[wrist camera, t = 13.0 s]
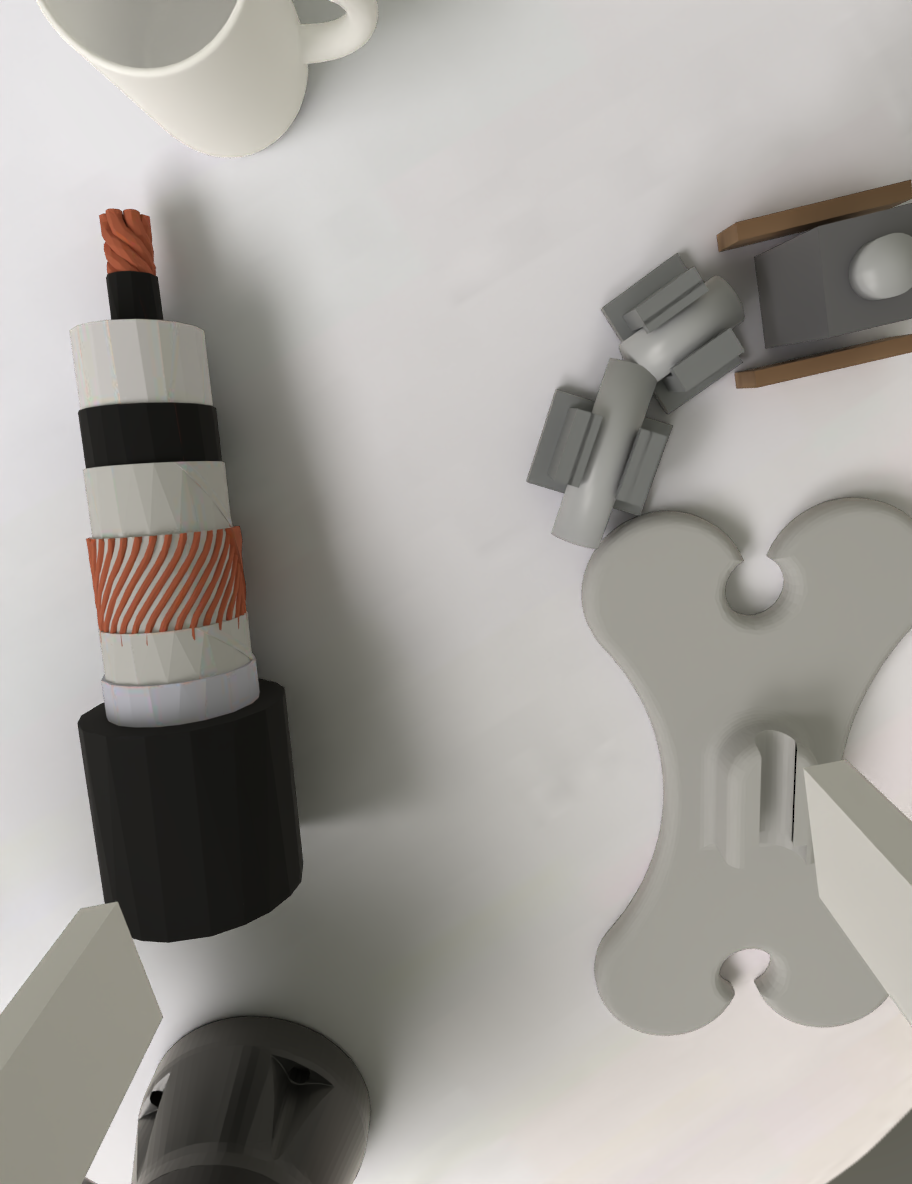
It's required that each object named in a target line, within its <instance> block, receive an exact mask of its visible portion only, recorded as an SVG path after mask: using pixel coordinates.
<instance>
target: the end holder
mask: <svg viewBox="0 0 912 1184" xmlns="http://www.w3.org/2000/svg"><path fill="white" fill-rule="evenodd" d="M910 199H912V184H911V180H908V181H904V182H900V183H896V184H891V185H887V186H883V187H879V188H875V189H871V190H867V191H863V192H859V193H855V194H851V195H846V196H842V197H838V198H834V199H830V200H826V201H822V202H818V203H814V204H810V205H806V206H801V207H797V208H793V209H789V210H785V211H781V212H777V213H773V214H769V215H765V216H761V217H756V218H752V219H748V220H744V221H740V222H736V223H735V224H733V225H732V226H730V227H728V228H727V229H725V230H724V231H722V232H721V233H719V234H718V235H717V241H718V249H719V252H721V251H725V250H729V249H733V248H738V247H742V246H746V245H750V244H754V243H758V242H762V241H766V240H771V239H775V238H779V237H783V236H787V235H791V234H795V233H799V232H804V231H808V230H812V229H814V228H816V227H818V226H822V225H826V224H830V223H834V222H838V221H842V220H846V219H850V218H854V217H858V216H862V215H866V214H870V213H874V212H878V211H882V210H886V209H890V208H892V207H894V206H897V205H899V204H901V203H903V202H906V201H908V200H910ZM911 352H912V334H908V335H902V336H895V337H888V338H884V339H880V340H875V341H871V342H867V343H862V344H858V345H854V346H849V347H845V348H841V349H836V350H832V351H828V352H823V353H819V354H815V355H811V356H806V357H802V358H798V359H793V360H789V361H785V362H780V363H776V364H772V365H767V366H763V367H759V368H754V369H750V370H746V371H741V372H737V373H735V381H736V388H758V387H762V386H767V385H771V384H775V383H780V382H784V381H788V380H793V379H797V378H801V377H806V376H810V375H815V374H819V373H823V372H828V371H832V370H836V369H841V368H845V367H849V366H854V365H858V364H863V363H867V362H871V361H876V360H880V359H884V358H889V357H893V356H897V355H902V354H906V353H911Z"/></svg>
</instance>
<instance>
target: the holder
mask: <svg viewBox="0 0 912 1184" xmlns="http://www.w3.org/2000/svg"><path fill="white" fill-rule="evenodd" d="M767 557H768V558H770V559H772V560H774V561H775V562H776V563H777V564H778V565H779V567H780V569H781V571H782V573H783V579H784V581H783V589H782V592H781V594H780V596H779V598H778V599H777V601H776V602H775V603H774V604H773V605H772V606H771V607H770V608H769V609H767V610H765V611H764V612H761V613H758V614H755V615H744V614H739V613H737V612H735V611H733V610H732V609H731V607H730V606H729V604H728V603H727V600H726V596H725V587H726V583H727V580H728V578H729V576H730V574H731V572H732V571H733V570H734V569H735V568H736V567H737V566H738V565H739V564H740V563H742V562H743V561H744V560H743V558H742V556H741V554H740V552H739V550H738V548H737V547H736V545H735V544H734V543H733V541H732V540H731V539H730V538H729V537H728V536H727V535H726V534H725V533H724V532H723V531H722V530H721V529H719V528H718V527H716V526H715V525H713V524H712V523H710V522H708V521H706V520H704V519H702V518H700V517H698V516H695V515H692V514H688V513H684V512H677V511H658V512H652V513H647V514H643V515H641V516H638V517H635V518H633V519H631V520H628V521H627V522H625V523H623V524H621V525H620V526H619V527H617V528H616V529H614V530H613V531H612V532H611V533H610V534H608V535H607V536H606V537H605V538H604V539H603V541H602V542H601V543H600V545H599V548H598V549H596V550H595V551H594V553H593V554H592V556H591V558H590V560H589V562H588V564H587V567H586V570H585V573H584V577H583V582H582V590H581V599H582V607H583V612H584V615H585V619H586V621H587V624H588V626H589V628H590V630H591V631H592V633H593V635H594V637H595V638H596V640H597V641H598V642H599V644H600V645H601V646H602V647H603V648H604V649H605V650H606V651H607V653H608V654H609V655H610V656H611V657H612V658H613V659H614V660H615V662H616V663H617V664H618V665H619V667H620V668H621V669H622V671H623V672H624V673H625V675H626V676H627V678H628V679H629V680H630V682H631V683H632V685H633V686H634V688H635V690H636V692H637V693H638V695H639V697H640V699H641V701H642V703H643V705H644V707H645V709H646V712H647V714H648V716H649V719H650V721H651V724H652V727H653V730H654V733H655V737H656V740H657V744H658V748H659V753H660V758H661V765H662V774H663V812H662V820H661V827H660V832H659V837H658V841H657V844H656V848H655V851H654V854H653V857H652V860H651V863H650V865H649V868H648V871H647V873H646V875H645V877H644V879H643V881H642V883H641V885H640V887H639V889H638V891H637V892H636V894H635V896H634V897H633V899H632V901H631V902H630V904H629V905H628V907H627V908H626V910H625V911H624V912H623V914H622V915H621V916H620V918H619V919H618V920H617V921H616V923H615V924H614V925H613V926H612V927H611V928H610V930H609V931H608V932H607V933H606V935H605V936H604V938H603V939H602V941H601V943H600V945H599V947H598V950H597V953H596V957H595V963H594V973H595V980H596V984H597V988H598V992H599V995H600V997H601V999H602V1001H603V1003H604V1004H605V1006H606V1007H607V1008H608V1010H609V1011H610V1012H611V1013H612V1014H613V1016H615V1017H616V1018H617V1019H618V1020H619V1021H621V1022H622V1023H623V1024H625V1025H627V1026H629V1027H630V1028H632V1029H635V1030H637V1031H640V1032H643V1033H647V1034H652V1035H662V1036H671V1035H680V1034H685V1033H688V1032H692V1031H694V1030H697V1029H699V1028H701V1027H703V1026H705V1025H707V1024H709V1023H710V1022H712V1021H713V1020H715V1019H716V1018H717V1017H718V1016H719V1015H720V1014H721V1013H722V1012H723V1011H724V1010H725V1009H726V1008H727V1006H728V1005H729V1004H730V1002H731V1000H732V999H733V997H734V994H735V992H734V989H733V987H732V985H731V983H730V982H729V981H727V980H725V979H723V978H722V977H721V976H720V975H719V973H720V968H721V966H722V964H723V962H724V961H725V960H726V959H727V958H728V957H729V956H731V955H732V954H734V953H736V952H738V951H741V950H745V949H760V950H763V951H765V952H767V953H768V954H769V955H770V963H769V966H768V968H767V969H766V971H765V972H764V973H763V974H762V975H761V976H760V977H759V978H757V979H756V980H754V982H755V984H756V986H757V988H758V990H759V992H760V994H761V996H762V997H763V999H764V1000H765V1002H766V1003H767V1004H768V1005H769V1006H770V1007H771V1008H772V1009H773V1010H774V1011H775V1012H776V1013H778V1014H779V1015H781V1016H782V1017H784V1018H786V1019H788V1020H790V1021H792V1022H795V1023H798V1024H801V1025H805V1026H811V1027H835V1026H841V1025H844V1024H848V1023H851V1022H854V1021H856V1020H859V1019H861V1018H863V1017H865V1016H866V1015H868V1014H869V1013H871V1012H873V1011H874V1010H875V1009H876V1008H878V1007H879V1006H880V1005H881V1004H882V1003H883V1002H884V1001H885V1000H886V998H887V997H888V996H889V994H888V993H887V991H886V990H885V989H884V987H883V986H882V984H881V983H880V982H879V980H878V979H877V977H876V976H875V975H874V973H873V972H872V970H871V969H870V968H869V966H868V965H867V963H866V962H865V961H864V959H863V958H862V956H861V955H860V954H859V952H858V951H857V949H856V948H855V947H854V945H853V944H852V942H851V941H850V939H849V938H848V937H847V935H846V934H845V932H844V931H843V930H842V928H841V927H840V925H839V924H838V923H837V921H836V920H835V918H834V917H833V916H832V914H831V913H830V911H829V910H828V909H827V907H826V906H825V904H824V903H823V902H822V900H821V899H820V897H819V892H818V884H817V876H816V867H815V859H814V851H813V843H812V835H811V827H810V819H809V811H808V802H807V794H806V786H805V778H804V770H803V768H805V767H810V766H815V765H820V764H825V763H831V762H836V761H841V760H842V757H843V752H844V748H845V745H846V741H847V737H848V734H849V731H850V728H851V725H852V723H853V720H854V718H855V715H856V713H857V710H858V708H859V706H860V704H861V701H862V699H863V697H864V696H865V694H866V692H867V690H868V688H869V686H870V684H871V683H872V681H873V679H874V677H875V676H876V674H877V673H878V671H879V669H880V668H881V666H882V665H883V663H884V662H885V660H886V659H887V658H888V656H889V655H890V654H891V652H892V651H893V650H894V648H895V647H896V646H897V644H898V643H899V642H900V641H901V639H902V638H903V637H904V636H905V635H906V634H907V633H908V631H909V630H910V629H911V628H912V518H911V517H909V516H908V515H907V514H905V513H904V512H902V511H901V510H899V509H897V508H896V507H893V506H891V505H889V504H886V503H883V502H880V501H876V500H871V499H866V498H842V499H835V500H831V501H827V502H824V503H821V504H818V505H816V506H814V507H812V508H810V509H808V510H806V511H805V512H803V513H802V514H800V515H799V516H797V517H796V518H795V519H794V520H792V521H791V522H790V523H789V524H788V525H787V526H786V527H785V528H784V529H783V530H782V531H781V533H780V534H779V535H778V536H777V538H776V539H775V541H774V542H773V544H772V545H771V547H770V549H769V551H768V554H767ZM795 742H796V745H797V762H796V785H795V809H794V831H792V815H793V790H794V766H795Z"/></svg>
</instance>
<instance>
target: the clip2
mask: <svg viewBox="0 0 912 1184" xmlns="http://www.w3.org/2000/svg"><path fill="white" fill-rule="evenodd" d="M601 311H602V312H603V314H604V316H605V317H606V319H607V320H608V322H609V324H610V325H611V327H612V328H613V330H614V331H615V333H616V335H617V336H618V338H619V339H620V341H621V344H619V350H620V353H621V355H622V358H623V360H624V361H628V362H632V363H635V364H638V365H642V366H643V367H644V368H646V369H647V370H648V371H649V372H650V373H651V374H652V375H653V376H654V377H655V378H656V380H657V384H656V387H655V389H654V392H653V393H654V395H655V397H656V398H657V400H658V401H659V403H660V405H661V406H662V408H663V409H664V411H665V412H666V414H670V413H671V412H672V411H674V410H675V409H677V408H678V407H680V406H681V405H682V404H684V403H685V402H687V401H688V400H690V399H691V398H693V397H694V396H695V395H697V394H698V393H700V392H701V391H703V390H704V389H705V388H707V387H708V386H710V385H711V384H713V383H714V382H715V381H717V380H718V379H720V378H721V377H723V376H724V375H725V374H727V373H728V372H730V371H731V370H733V369H734V368H736V367H737V366H738V365H740V364H741V363H743V362H742V361H741V359H740V357H739V355H740V354H741V353H743V352H744V349H743V347H742V346H741V344H740V342H739V341H738V339H737V337H736V335H735V334H734V332H733V330H732V329H733V328H734V327H736V326H737V325H739V324H740V323H741V322H743V321H744V317H745V315H744V310H743V306H742V304H741V302H740V300H739V298H738V296H737V294H736V293H735V291H734V290H733V288H732V287H731V286H730V285H729V284H728V283H727V282H726V281H725V280H724V279H723V278H721V277H720V276H713V277H712V278H711V279H709V280H708V281H707V282H705V283H704V282H703V280H702V278H701V276H700V275H699V273H698V271H697V270H696V268H695V266H694V267H692V268H690V269H688V270H687V268H686V267H685V265H684V263H683V262H682V260H681V258H680V257H679V255H678V253H677V254H675V255H674V256H672V257H671V258H670V259H668V260H667V261H666V262H664V263H663V264H662V265H660V266H659V267H657V268H656V269H655V270H653V271H652V272H651V273H649V274H648V275H647V276H645V277H644V278H642V279H641V280H640V281H638V282H637V283H636V284H634V285H633V286H632V287H630V288H629V289H628V290H626V291H625V292H623V293H622V294H621V295H619V296H618V297H617V298H615V299H614V300H613V301H611V302H610V303H608V304H607V305H606V306H604V307H603V308H602V309H601Z"/></svg>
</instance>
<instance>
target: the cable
mask: <svg viewBox="0 0 912 1184" xmlns="http://www.w3.org/2000/svg"><path fill="white" fill-rule="evenodd" d="M99 217H100V225H101V232H102V237H103V238H104V240H105V241H106V242H105V244H104V252H105V256H106V259H107V260H108V262H107V273H108V274H107V277H106V281H107V289H108V297H109V305H110V313H111V320H104V321H96V322H89V323H85V324H81V325H77V326H76V327H74V328H73V329H71V330H70V338H71V345H72V353H73V360H74V367H75V375H76V382H77V389H78V396H79V404H80V410H79V412H78V415H79V422H80V429H81V436H82V443H83V450H84V458H85V465H86V469H84V470H83V473H84V480H85V487H86V494H87V501H88V508H89V516H90V523H91V530H92V538H88V539H86V541H87V546H88V553H89V561H90V567H91V573H92V580H93V589H94V593H95V604H96V608H97V617H98V625H99V636H100V643H101V650H102V657H103V664H104V671H105V674H104V676H103V678H102V680H101V682H102V689H103V696H104V702H105V703H102V704H100V705H98V706H96V707H95V708H93V709H92V710H90V711H88V712H87V713H85V714H83V715H82V716H81V717H80V719H79V721H78V730H79V737H80V743H81V750H82V756H83V763H84V770H85V776H86V783H87V789H88V796H89V803H90V809H91V816H92V822H93V829H94V836H95V842H96V849H97V855H98V862H99V869H100V875H101V882H102V888H103V895H104V902H105V904H107V903H113V902H118V903H119V906H120V909H121V911H122V914H123V916H124V919H125V921H126V924H127V926H128V929H129V932H130V934H131V937H132V938H134V939H137V940H141V941H152V942H167V943H169V942H176V941H182V940H189V939H196V938H203V937H210V936H214V935H217V934H219V933H222V932H225V931H228V930H231V929H234V928H237V927H240V926H243V925H245V924H247V923H249V922H251V921H253V920H255V919H257V918H259V917H261V916H263V915H265V914H267V913H269V912H271V911H272V910H273V909H274V908H276V907H277V906H278V905H279V904H281V903H282V902H283V901H284V900H286V899H287V898H288V897H289V896H291V894H292V893H293V892H294V890H295V889H296V888H297V886H298V885H299V884H300V882H301V879H302V870H303V857H302V847H301V838H300V829H299V819H298V810H297V801H296V791H295V782H294V773H293V763H292V754H291V745H290V736H289V726H288V717H287V708H286V698H285V689H284V687H282V686H281V685H279V684H278V683H275V682H271V681H267V680H263V679H258V674H257V665H256V658H255V655H254V654H252V650H251V641H250V631H249V622H248V612H247V611H246V603H245V600H246V584H245V578H244V573H243V563H242V553H241V552H242V535H241V530H240V526H233V525H232V521H231V515H230V506H229V496H228V487H227V478H226V469H225V462H222V459H221V450H220V440H219V431H218V422H217V413H216V408H215V407H213V402H212V394H211V385H210V377H209V368H208V360H207V351H206V343H205V334H204V330H202V329H200V328H198V327H196V326H193V325H189V324H184V323H179V322H173V321H164V320H163V314H162V306H161V298H160V291H159V283H158V277H157V276H156V267H155V265H154V251H153V246H152V233H151V225H150V217H149V216H146V215H143V214H141V215H140V212H138V211H137V210H134V209H126V210H124V211H123V213H122V211H121V210H119V209H107V210H106V214H101V215H99Z"/></svg>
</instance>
